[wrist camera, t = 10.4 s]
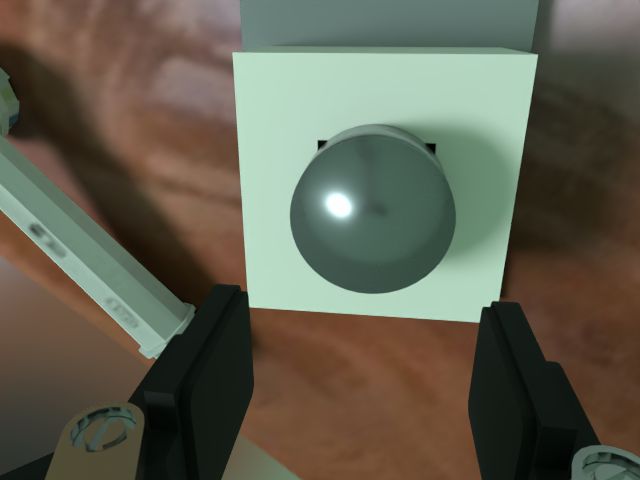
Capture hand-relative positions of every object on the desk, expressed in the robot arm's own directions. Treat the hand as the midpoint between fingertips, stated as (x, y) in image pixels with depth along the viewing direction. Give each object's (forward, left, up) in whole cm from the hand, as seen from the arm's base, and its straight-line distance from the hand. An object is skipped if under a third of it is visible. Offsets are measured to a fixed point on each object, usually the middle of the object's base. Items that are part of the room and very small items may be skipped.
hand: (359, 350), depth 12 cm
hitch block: (0, 0, -19) cm, 19 cm away
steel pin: (0, 0, -17) cm, 17 cm away
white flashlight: (+5, -19, -20) cm, 28 cm away
